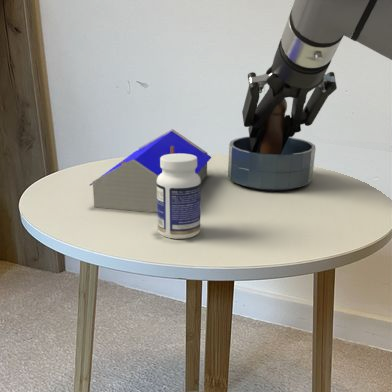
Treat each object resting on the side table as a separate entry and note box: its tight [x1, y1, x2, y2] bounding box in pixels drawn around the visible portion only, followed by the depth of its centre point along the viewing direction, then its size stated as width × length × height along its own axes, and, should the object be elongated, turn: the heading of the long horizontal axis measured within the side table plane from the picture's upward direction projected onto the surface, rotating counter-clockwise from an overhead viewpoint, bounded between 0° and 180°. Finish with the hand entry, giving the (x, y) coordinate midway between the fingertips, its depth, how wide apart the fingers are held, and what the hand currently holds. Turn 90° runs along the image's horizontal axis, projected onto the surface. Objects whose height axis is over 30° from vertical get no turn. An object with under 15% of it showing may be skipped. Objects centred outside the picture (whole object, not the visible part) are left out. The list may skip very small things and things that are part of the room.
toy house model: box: [89, 128, 212, 214], centre depth 95 cm, size 22×14×7 cm, turn 167°
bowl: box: [227, 136, 316, 192], centre depth 101 cm, size 14×14×6 cm
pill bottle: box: [156, 153, 202, 240], centre depth 78 cm, size 6×6×10 cm
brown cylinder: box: [260, 98, 288, 154], centre depth 100 cm, size 4×4×13 cm
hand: (265, 145), depth 104 cm, fingers open, 4 cm apart
